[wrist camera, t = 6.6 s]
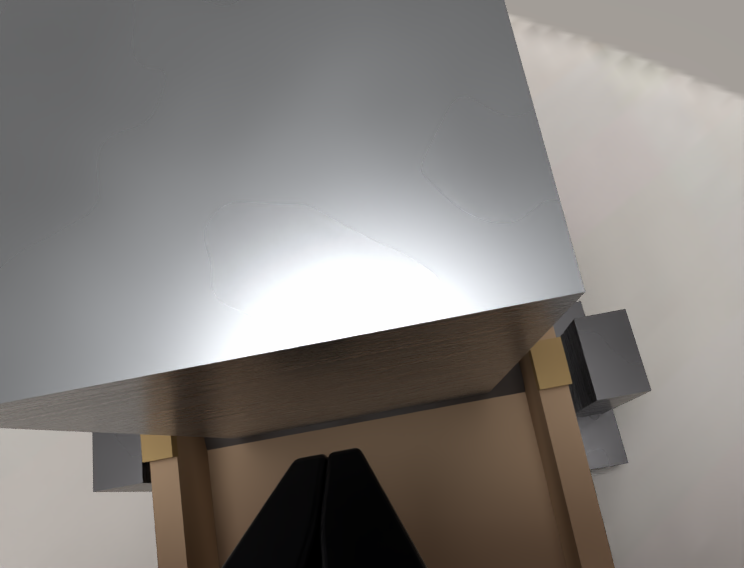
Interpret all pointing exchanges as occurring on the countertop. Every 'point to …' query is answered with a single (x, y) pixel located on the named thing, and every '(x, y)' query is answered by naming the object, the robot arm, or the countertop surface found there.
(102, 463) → the stand
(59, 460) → the countertop surface
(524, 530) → the beam
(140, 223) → the steel block
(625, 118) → the countertop surface
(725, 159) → the countertop surface
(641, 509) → the countertop surface
